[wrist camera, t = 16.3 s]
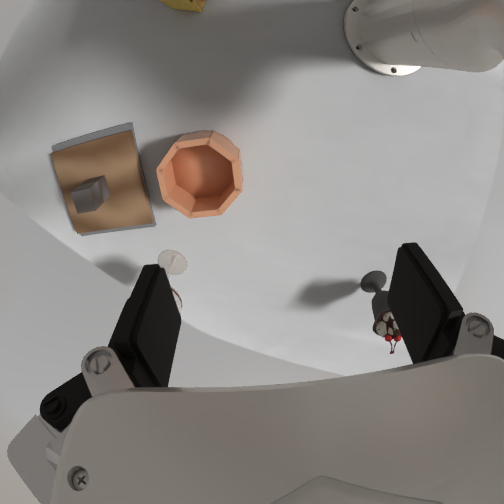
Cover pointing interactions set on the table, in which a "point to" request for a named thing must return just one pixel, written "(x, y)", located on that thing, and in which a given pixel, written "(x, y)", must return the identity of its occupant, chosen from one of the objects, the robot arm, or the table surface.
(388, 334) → the sundae
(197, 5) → the candy box
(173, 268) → the wineglass
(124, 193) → the cover
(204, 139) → the bowl
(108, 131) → the mat
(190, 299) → the table surface
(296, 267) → the table surface
